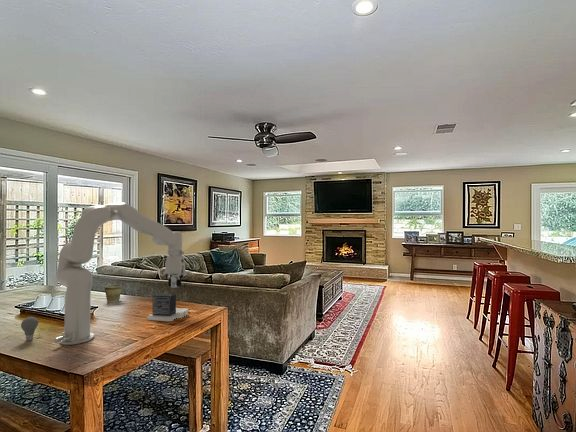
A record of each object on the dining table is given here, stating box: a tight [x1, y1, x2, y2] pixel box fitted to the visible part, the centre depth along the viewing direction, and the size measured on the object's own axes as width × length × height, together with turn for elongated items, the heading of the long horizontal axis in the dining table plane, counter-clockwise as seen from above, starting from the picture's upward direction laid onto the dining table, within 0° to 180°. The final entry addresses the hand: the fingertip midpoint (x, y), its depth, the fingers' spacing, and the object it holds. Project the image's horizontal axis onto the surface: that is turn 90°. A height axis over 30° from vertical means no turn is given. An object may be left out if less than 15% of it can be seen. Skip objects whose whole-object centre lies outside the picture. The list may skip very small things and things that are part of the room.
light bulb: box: [20, 316, 39, 341], centre depth 142 cm, size 6×6×10 cm
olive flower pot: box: [104, 283, 123, 304], centre depth 211 cm, size 13×10×10 cm
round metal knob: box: [170, 275, 178, 289], centre depth 183 cm, size 4×4×6 cm
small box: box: [152, 292, 177, 316], centre depth 175 cm, size 11×6×10 cm, turn 81°
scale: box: [146, 307, 190, 322], centre depth 178 cm, size 18×17×3 cm
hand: (174, 285), depth 183 cm, fingers closed on round metal knob, 4 cm apart
